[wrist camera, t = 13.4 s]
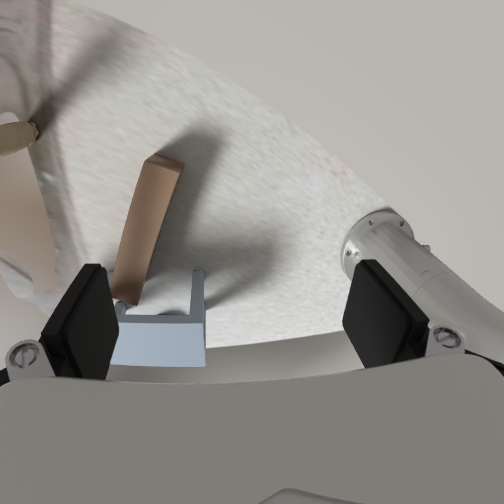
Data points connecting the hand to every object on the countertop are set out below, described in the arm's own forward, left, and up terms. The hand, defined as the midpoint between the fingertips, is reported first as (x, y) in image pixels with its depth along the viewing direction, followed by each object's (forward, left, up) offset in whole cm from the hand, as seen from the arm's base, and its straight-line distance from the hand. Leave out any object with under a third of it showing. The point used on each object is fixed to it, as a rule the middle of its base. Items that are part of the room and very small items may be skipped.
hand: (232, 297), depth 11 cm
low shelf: (+9, +19, -28) cm, 35 cm away
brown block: (+9, +8, -29) cm, 31 cm away
